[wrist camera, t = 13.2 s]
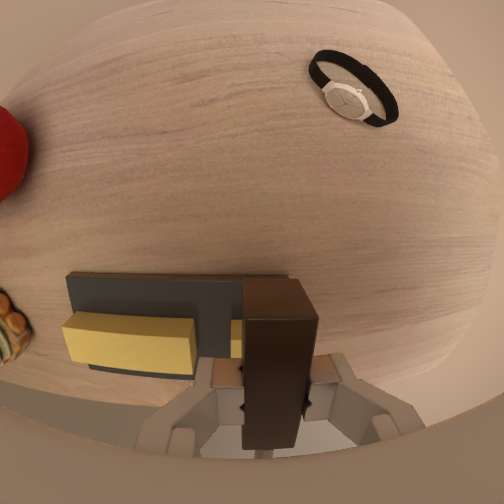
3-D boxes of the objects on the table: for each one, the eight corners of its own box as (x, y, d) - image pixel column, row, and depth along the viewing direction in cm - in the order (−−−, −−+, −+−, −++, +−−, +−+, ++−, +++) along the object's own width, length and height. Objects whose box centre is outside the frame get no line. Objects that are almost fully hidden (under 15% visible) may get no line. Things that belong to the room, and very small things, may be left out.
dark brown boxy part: (298, 277, 10) (320, 316, 7) (274, 463, 13) (279, 503, 10) (242, 277, 10) (244, 317, 7) (240, 464, 13) (241, 504, 10)
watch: (293, 83, 19) (303, 68, 15) (323, 45, 18) (337, 27, 14) (371, 142, 20) (394, 139, 17) (396, 102, 19) (419, 94, 16)
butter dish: (288, 274, 23) (290, 280, 22) (280, 372, 25) (282, 379, 24) (71, 271, 22) (65, 276, 21) (93, 362, 24) (89, 369, 23)
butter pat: (256, 319, 22) (259, 340, 20) (254, 354, 23) (256, 376, 20) (231, 319, 22) (230, 339, 19) (231, 354, 23) (230, 376, 20)
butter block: (194, 317, 22) (188, 338, 19) (197, 353, 23) (193, 375, 20) (76, 310, 21) (60, 326, 19) (85, 343, 22) (72, 361, 20)
